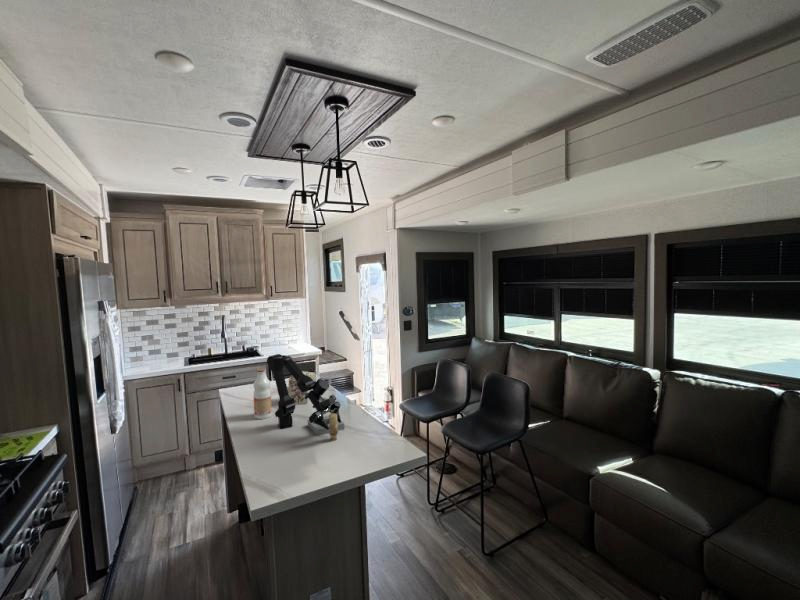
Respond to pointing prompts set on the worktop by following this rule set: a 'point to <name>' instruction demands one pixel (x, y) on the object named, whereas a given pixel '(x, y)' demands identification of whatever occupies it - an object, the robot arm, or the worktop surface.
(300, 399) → the decorative jar
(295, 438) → the worktop surface
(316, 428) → the charcoal socket board
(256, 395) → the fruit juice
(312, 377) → the stack of blocks
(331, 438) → the oak peg
